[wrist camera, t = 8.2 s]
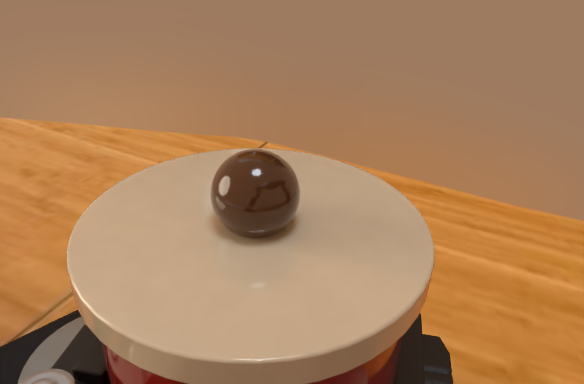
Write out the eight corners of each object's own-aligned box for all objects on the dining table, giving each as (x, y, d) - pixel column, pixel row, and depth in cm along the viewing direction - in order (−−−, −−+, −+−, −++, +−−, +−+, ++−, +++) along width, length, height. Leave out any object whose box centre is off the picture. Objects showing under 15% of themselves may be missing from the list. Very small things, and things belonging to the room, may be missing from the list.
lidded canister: (354, 722, 12) (477, 317, 5) (100, 651, 13) (-64, 233, 6) (375, 341, 22) (426, 47, 16) (235, 317, 23) (227, 30, 17)
